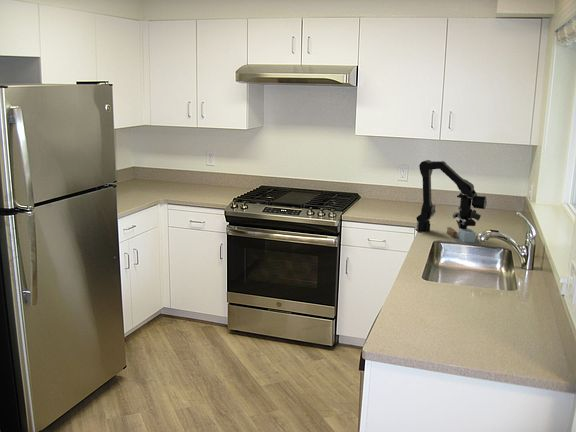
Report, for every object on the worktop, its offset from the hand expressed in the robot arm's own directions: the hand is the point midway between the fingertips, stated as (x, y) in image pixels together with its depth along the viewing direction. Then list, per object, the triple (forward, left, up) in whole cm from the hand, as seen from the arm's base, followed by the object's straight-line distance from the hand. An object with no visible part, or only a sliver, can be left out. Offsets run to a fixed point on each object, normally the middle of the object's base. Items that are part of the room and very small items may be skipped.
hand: (462, 234), depth 323 cm
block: (0, -6, -1) cm, 6 cm away
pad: (0, -7, -2) cm, 8 cm away
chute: (0, +4, -2) cm, 4 cm away
